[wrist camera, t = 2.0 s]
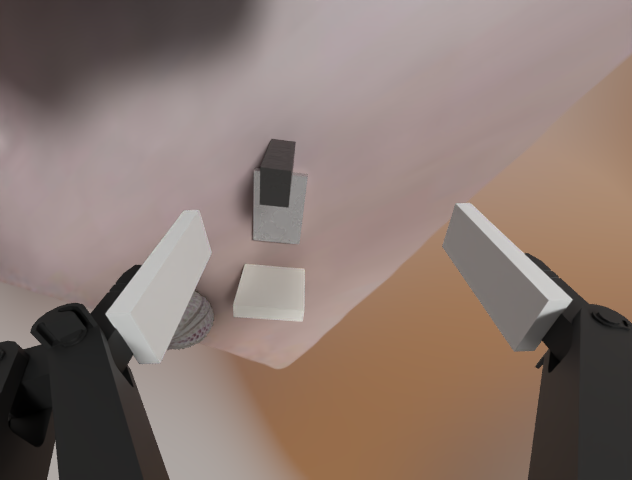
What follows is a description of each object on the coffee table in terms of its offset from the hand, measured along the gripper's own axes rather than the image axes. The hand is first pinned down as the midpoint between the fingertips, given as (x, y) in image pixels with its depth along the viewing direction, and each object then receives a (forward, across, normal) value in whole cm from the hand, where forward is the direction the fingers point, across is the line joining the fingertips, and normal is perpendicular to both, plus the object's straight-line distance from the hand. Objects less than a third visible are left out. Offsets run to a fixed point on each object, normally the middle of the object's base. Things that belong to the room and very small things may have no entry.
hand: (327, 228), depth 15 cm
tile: (+23, -7, -23) cm, 34 cm away
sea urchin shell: (+24, -26, -31) cm, 47 cm away
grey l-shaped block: (+23, -5, -9) cm, 25 cm away
